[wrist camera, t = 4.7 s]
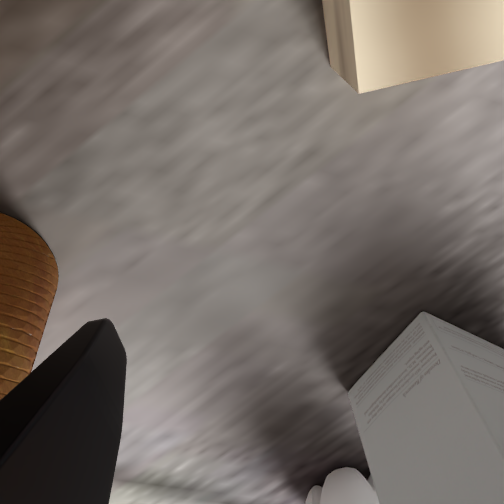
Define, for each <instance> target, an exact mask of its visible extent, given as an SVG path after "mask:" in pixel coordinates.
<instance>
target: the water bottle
mask: <svg viewBox="0 0 504 504" xmlns="http://www.w3.org/2000/svg"><path fill="white" fill-rule="evenodd" d="M305 504H379V500H378V497H377V493H376V490H375V487H374V483H373V480H372V476H371V475H370V476H369V478H368V480H366V479H365V478H364V476H363V475H362V474H361V473H360V472H359V471H358V470H356V469H355V468H349V467H345V468H340V469H336V470H334V471H332V472H331V473H330V474H328V475H327V477H326V479H325V482H324V485H323V488H322V487H320V486H317V485H315V486H313V488H312V489H311V490H310V491H309V493H308V496H307V499H306V503H305Z"/></svg>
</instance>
